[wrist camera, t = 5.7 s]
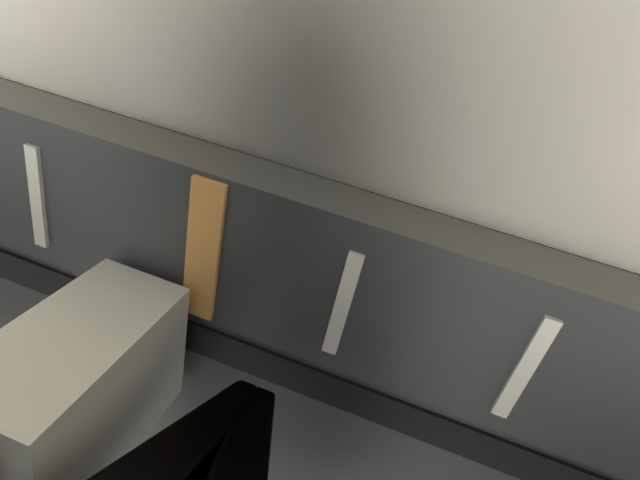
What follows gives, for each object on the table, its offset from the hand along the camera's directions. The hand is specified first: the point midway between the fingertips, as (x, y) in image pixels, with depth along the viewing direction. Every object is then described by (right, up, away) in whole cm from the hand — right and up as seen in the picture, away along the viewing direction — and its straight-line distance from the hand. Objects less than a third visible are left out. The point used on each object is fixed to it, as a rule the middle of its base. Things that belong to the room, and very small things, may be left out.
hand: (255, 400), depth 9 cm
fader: (-3, +1, +1) cm, 3 cm away
